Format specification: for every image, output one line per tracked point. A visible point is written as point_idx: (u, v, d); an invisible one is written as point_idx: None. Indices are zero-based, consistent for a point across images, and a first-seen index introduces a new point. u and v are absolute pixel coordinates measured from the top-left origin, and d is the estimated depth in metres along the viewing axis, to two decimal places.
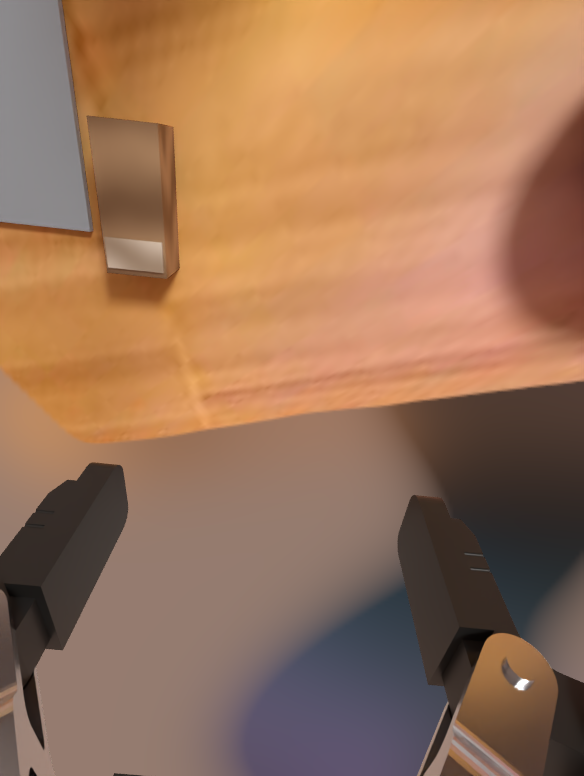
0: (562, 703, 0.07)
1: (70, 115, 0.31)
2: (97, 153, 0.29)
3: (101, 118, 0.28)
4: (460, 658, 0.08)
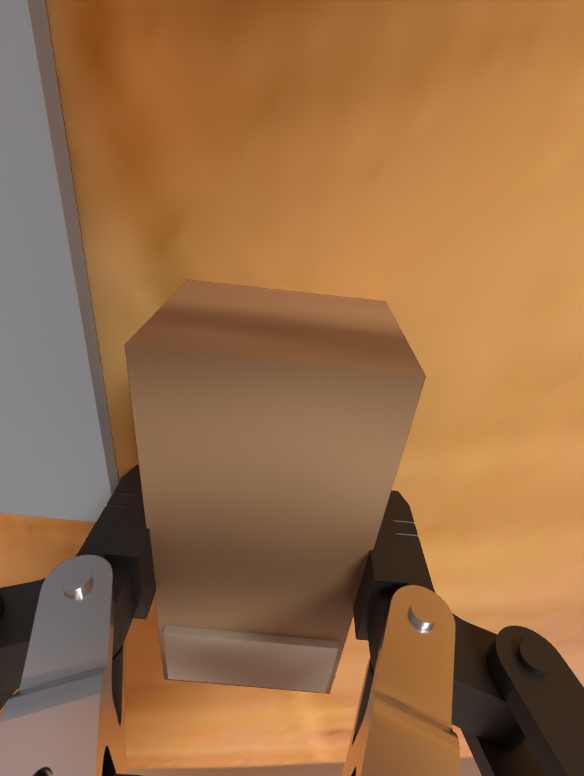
0: (463, 646, 0.08)
1: (63, 272, 0.09)
2: (158, 456, 0.08)
3: (188, 355, 0.07)
4: (378, 610, 0.08)
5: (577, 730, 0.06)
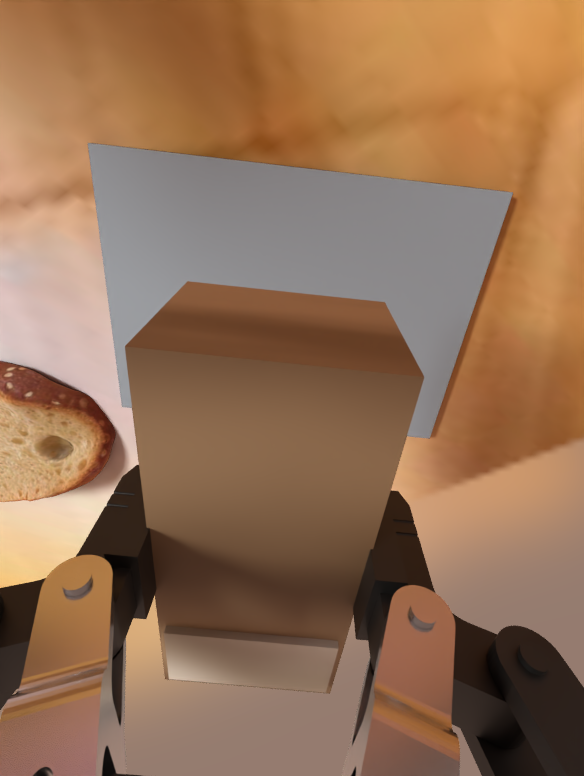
0: (463, 646, 0.08)
1: (350, 179, 0.21)
2: (158, 457, 0.08)
3: (187, 357, 0.07)
4: (378, 610, 0.08)
5: (577, 730, 0.06)
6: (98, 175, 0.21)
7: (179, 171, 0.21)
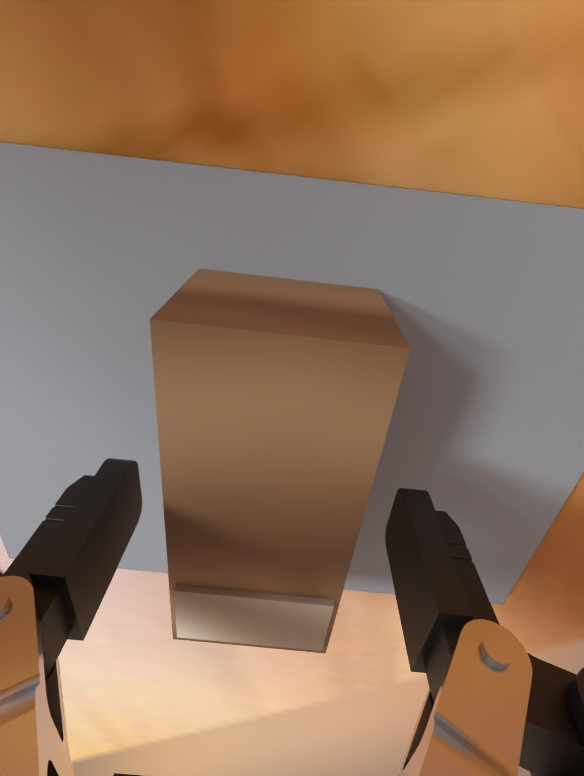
0: (537, 686, 0.07)
1: (396, 199, 0.10)
2: (175, 421, 0.09)
3: (204, 328, 0.08)
4: (440, 644, 0.08)
5: None
6: None
7: (43, 183, 0.10)
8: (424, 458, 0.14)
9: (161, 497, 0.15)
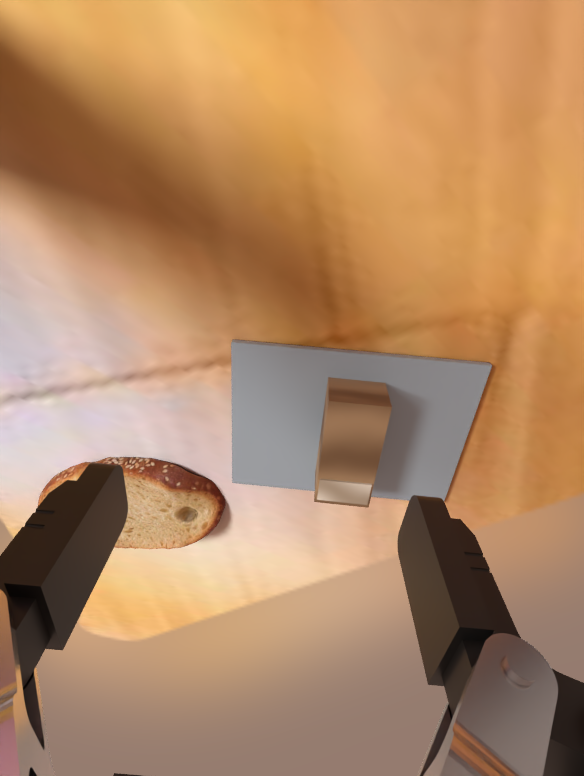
0: (562, 703, 0.07)
1: (390, 359, 0.34)
2: (330, 425, 0.33)
3: (341, 403, 0.32)
4: (460, 658, 0.08)
5: None
6: (235, 357, 0.35)
7: (285, 355, 0.34)
8: (404, 438, 0.38)
9: (301, 454, 0.40)
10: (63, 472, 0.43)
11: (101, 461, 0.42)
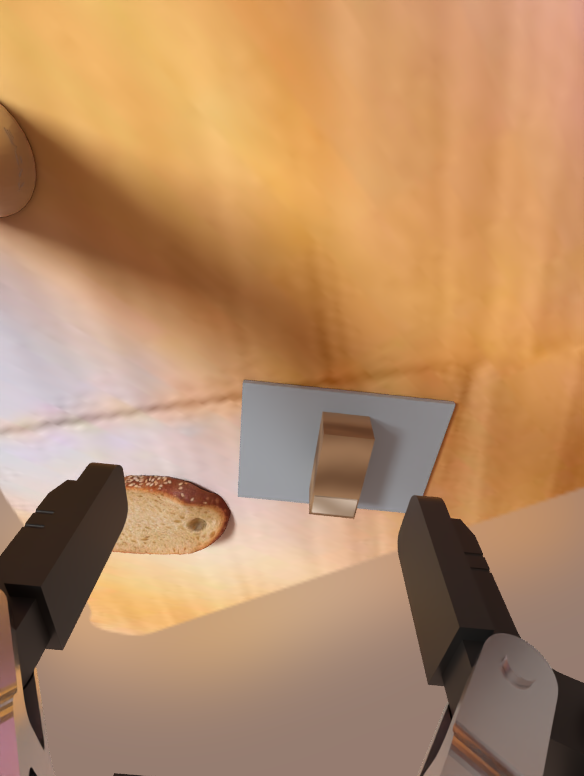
0: (562, 703, 0.07)
1: (373, 398, 0.41)
2: (324, 453, 0.40)
3: (334, 435, 0.39)
4: (460, 658, 0.08)
5: None
6: (245, 394, 0.42)
7: (287, 393, 0.41)
8: (384, 460, 0.45)
9: (298, 473, 0.47)
10: None
11: (124, 479, 0.48)
